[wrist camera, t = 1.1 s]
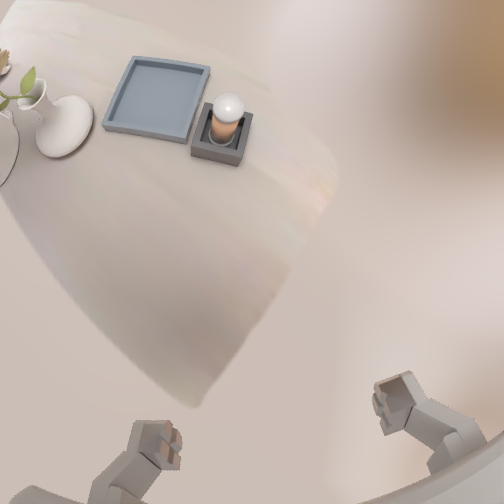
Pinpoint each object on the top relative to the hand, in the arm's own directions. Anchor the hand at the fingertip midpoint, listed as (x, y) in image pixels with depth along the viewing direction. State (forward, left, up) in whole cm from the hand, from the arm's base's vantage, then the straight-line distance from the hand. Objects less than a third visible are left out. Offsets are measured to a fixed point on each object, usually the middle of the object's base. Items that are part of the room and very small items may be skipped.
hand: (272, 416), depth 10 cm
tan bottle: (-4, +23, -33) cm, 40 cm away
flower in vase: (-32, +20, -34) cm, 51 cm away
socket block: (-4, +23, -34) cm, 41 cm away
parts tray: (-16, +28, -34) cm, 47 cm away
